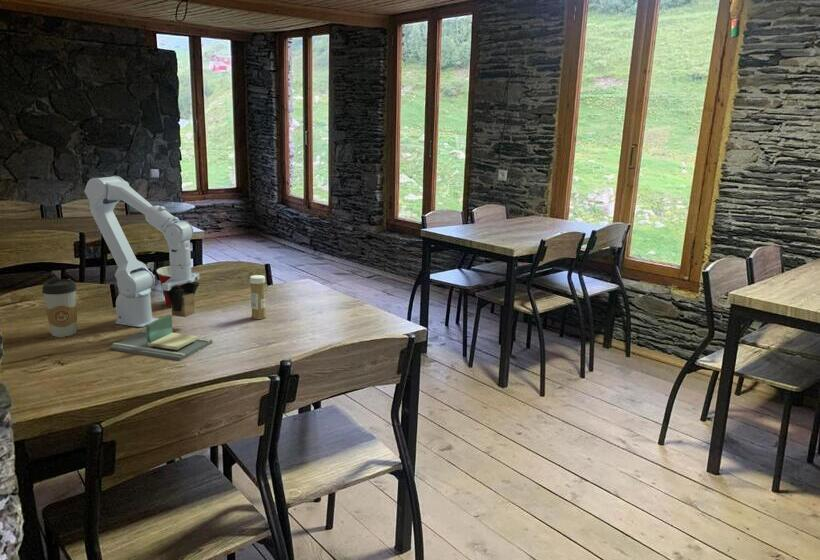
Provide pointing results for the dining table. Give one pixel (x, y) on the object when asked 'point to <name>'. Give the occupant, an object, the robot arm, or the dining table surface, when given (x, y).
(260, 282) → the sprinkles bottle
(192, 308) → the walnut block
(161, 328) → the sliding tray
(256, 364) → the dining table surface
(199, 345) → the track board
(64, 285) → the coffee cup
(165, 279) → the plastic cup
